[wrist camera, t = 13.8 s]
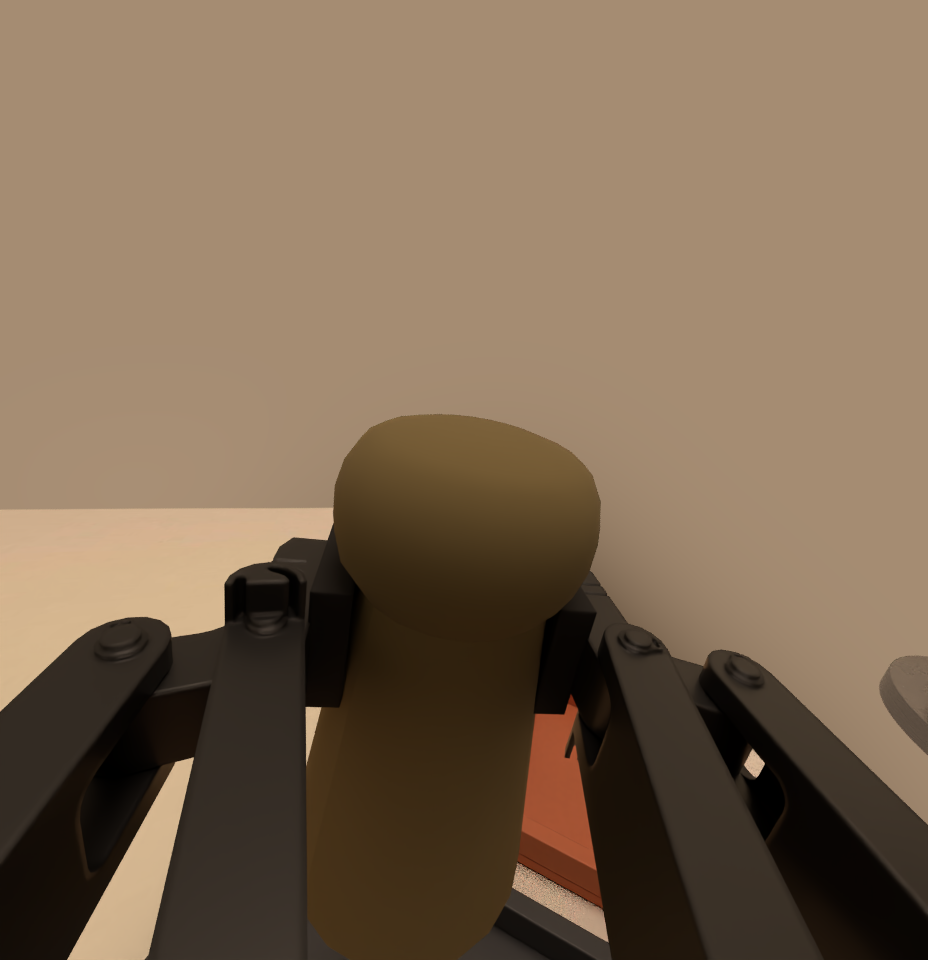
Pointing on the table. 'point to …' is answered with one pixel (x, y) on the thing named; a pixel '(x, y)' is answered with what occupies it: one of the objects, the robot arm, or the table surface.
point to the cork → (438, 678)
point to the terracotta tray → (557, 810)
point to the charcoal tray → (512, 937)
